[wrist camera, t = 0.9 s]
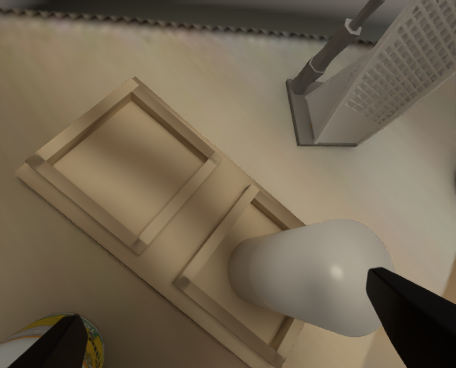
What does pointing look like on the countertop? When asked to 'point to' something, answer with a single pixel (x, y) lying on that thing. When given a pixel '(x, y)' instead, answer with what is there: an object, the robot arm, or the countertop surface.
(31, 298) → the countertop surface
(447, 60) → the skyscraper
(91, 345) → the supplement bottle
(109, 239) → the caddy
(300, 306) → the white rounded rod
